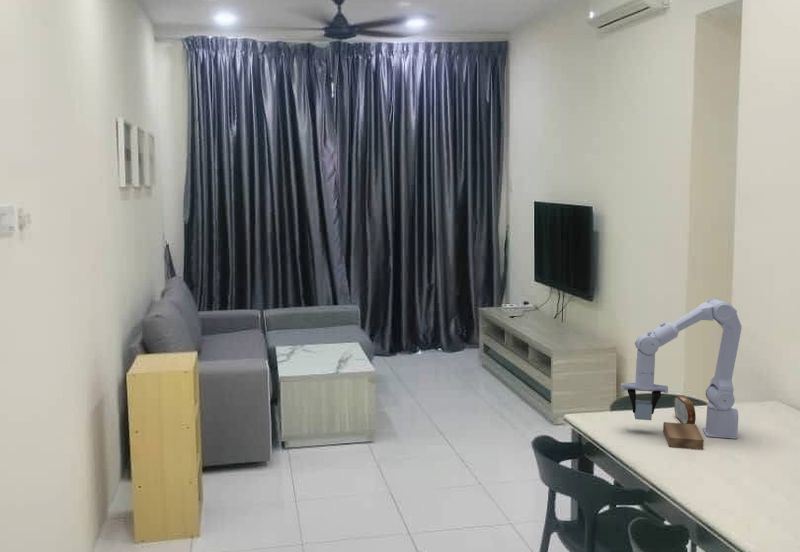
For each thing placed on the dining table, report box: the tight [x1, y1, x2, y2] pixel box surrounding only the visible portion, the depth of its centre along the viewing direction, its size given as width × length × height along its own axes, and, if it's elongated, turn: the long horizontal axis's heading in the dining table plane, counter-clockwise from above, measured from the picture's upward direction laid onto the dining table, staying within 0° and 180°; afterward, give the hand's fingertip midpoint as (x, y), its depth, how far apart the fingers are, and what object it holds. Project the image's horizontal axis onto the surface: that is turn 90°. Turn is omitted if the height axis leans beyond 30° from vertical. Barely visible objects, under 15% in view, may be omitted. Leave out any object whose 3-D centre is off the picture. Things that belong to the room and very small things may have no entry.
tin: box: [673, 394, 697, 424], centre depth 275 cm, size 15×3×8 cm, turn 179°
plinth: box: [662, 421, 704, 450], centre depth 256 cm, size 10×16×3 cm, turn 168°
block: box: [633, 399, 653, 421], centre depth 263 cm, size 5×5×5 cm
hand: (642, 412), depth 263 cm, fingers closed on block, 5 cm apart
